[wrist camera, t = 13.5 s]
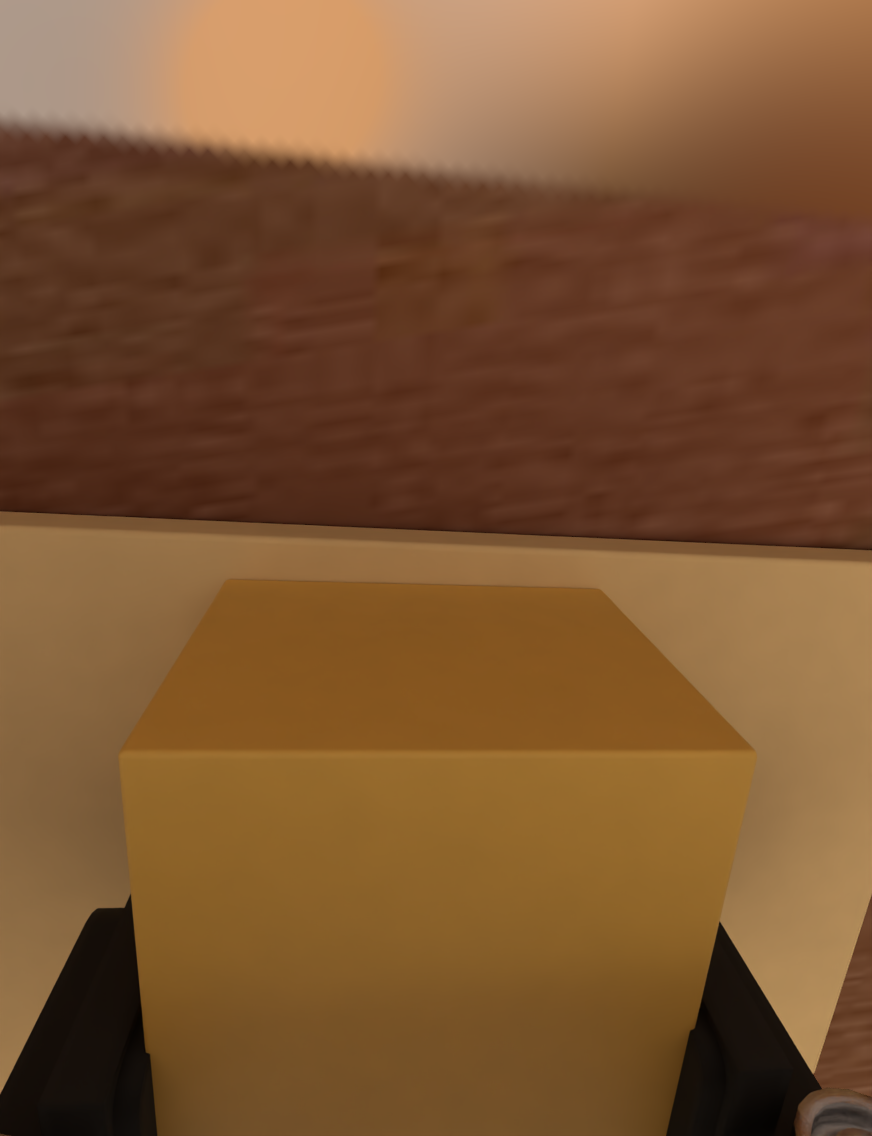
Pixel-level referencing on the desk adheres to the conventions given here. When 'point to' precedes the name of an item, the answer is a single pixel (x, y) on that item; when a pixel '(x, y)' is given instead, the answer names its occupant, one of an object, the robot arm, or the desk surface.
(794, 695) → the cork mat
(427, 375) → the desk surface
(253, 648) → the yellow rectangular block
